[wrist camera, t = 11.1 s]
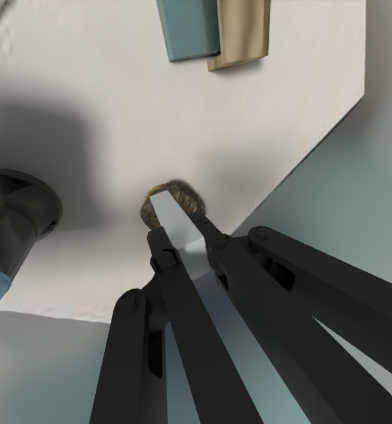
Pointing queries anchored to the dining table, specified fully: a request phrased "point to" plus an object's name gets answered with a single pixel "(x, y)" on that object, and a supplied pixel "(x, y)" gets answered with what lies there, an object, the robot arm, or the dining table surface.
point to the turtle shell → (180, 195)
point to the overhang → (242, 32)
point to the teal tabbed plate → (189, 28)
